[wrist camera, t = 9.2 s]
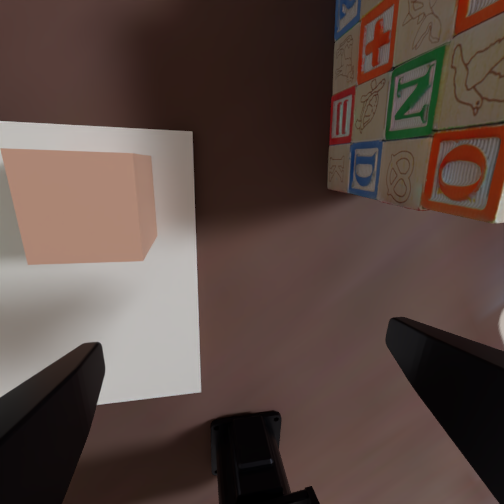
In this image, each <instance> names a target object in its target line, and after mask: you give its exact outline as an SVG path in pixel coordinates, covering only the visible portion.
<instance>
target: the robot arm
mask: <svg viewBox="0 0 504 504" xmlns="http://www.w3.org/2000/svg"><path fill="white" fill-rule="evenodd" d="M386 345H387V347H388V348H389V350H390V352H391V353H392V355H393V356H394V358H395V360H396V361H397V363H398V364H399V366H400V368H401V369H402V371H403V373H404V374H405V376H406V377H407V379H408V381H409V382H410V384H411V385H412V387H413V388H414V390H415V391H416V392H417V394H418V395H419V396H420V398H421V399H422V400H423V402H424V403H425V404H426V406H427V407H428V408H429V410H430V411H431V412H432V414H433V415H434V417H435V418H436V419H437V421H438V422H439V423H440V425H441V426H442V427H443V429H444V430H445V431H446V433H447V434H448V435H449V437H450V438H451V439H452V441H453V442H454V443H455V445H456V446H457V447H458V449H459V450H460V451H461V453H462V454H463V455H464V457H465V458H466V459H467V461H468V462H469V463H470V465H471V466H472V467H473V469H474V470H475V471H476V473H477V474H478V475H479V477H480V478H481V479H482V481H483V482H484V483H485V485H486V486H487V487H488V489H489V490H490V492H491V493H492V494H493V496H494V497H495V498H496V500H497V501H498V502H499V504H504V351H501V350H498V349H495V348H492V347H490V346H487V345H484V344H481V343H478V342H475V341H472V340H469V339H466V338H463V337H461V336H458V335H455V334H452V333H449V332H446V331H443V330H440V329H437V328H434V327H432V326H429V325H426V324H423V323H420V322H417V321H414V320H411V319H408V318H405V317H394V318H391V319H390V321H389V324H388V329H387V334H386ZM104 376H105V361H104V355H103V349H102V345H101V343H100V342H88V343H83V344H81V345H80V346H78V347H77V348H75V349H73V350H72V351H70V352H69V353H67V354H66V355H64V356H63V357H61V358H60V359H58V360H57V361H55V362H54V363H52V364H51V365H49V366H47V367H46V368H44V369H43V370H41V371H40V372H38V373H37V374H35V375H34V376H32V377H31V378H29V379H28V380H26V381H24V382H23V383H21V384H20V385H18V386H17V387H15V388H14V389H12V390H11V391H9V392H8V393H6V394H5V395H3V396H1V397H0V504H62V502H63V500H64V497H65V494H66V492H67V489H68V487H69V484H70V481H71V479H72V476H73V474H74V471H75V468H76V466H77V463H78V461H79V458H80V455H81V453H82V450H83V448H84V445H85V442H86V440H87V437H88V434H89V431H90V428H91V424H92V421H93V417H94V413H95V410H96V406H97V402H98V398H99V395H100V391H101V387H102V383H103V380H104ZM280 429H281V415H280V413H279V412H269V413H262V414H255V415H248V416H241V417H234V418H227V419H220V420H215V421H213V422H212V423H211V462H212V474H213V475H217V479H218V495H219V504H320V503H319V501H318V499H317V497H316V494H315V492H314V490H313V488H312V486H309V487H306V488H305V489H304V490H300V491H297V492H293V493H291V491H290V487H289V484H288V480H287V477H286V473H285V470H284V466H283V463H282V459H281V455H280V452H279V441H280Z"/></svg>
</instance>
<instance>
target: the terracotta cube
mask: <svg viewBox="0 0 504 504" xmlns="http://www.w3.org/2000/svg"><path fill="white" fill-rule="evenodd" d="M0 150H1V154H2V158H3V162H4V167H5V171H6V175H7V179H8V183H9V188H10V192H11V196H12V200H13V205H14V209H15V213H16V217H17V221H18V226H19V230H20V234H21V238H22V242H23V247H24V251H25V255H26V259H27V264H28V265H39V264H70V263H101V262H132V261H144V259H145V257H146V255H147V253H148V252H149V250H150V248H151V246H152V245H153V243H154V241H155V239H156V237H157V224H156V211H155V198H154V185H153V173H152V160H151V156H148V155H141V154H135V153H114V152H87V151H61V150H34V149H8V148H0Z"/></svg>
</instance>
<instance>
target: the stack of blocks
mask: <svg viewBox="0 0 504 504" xmlns="http://www.w3.org/2000/svg"><path fill="white" fill-rule="evenodd" d="M334 39H335V46H334V68H333V95H332V98H331V118H330V142H329V145H330V146H329V157H328V180H327V188H328V189H330V190H335V191H339V192H344V193H351V194H355V195H359V196H363V197H367V198H371V199H375V200H379V201H380V202H383V203H387V204H391V205H396V206H400V207H405V208H408V209H414V210H418V211H426V210H434V211H438V212H443V213H447V214H452V215H456V216H461V217H465V218H470V219H475V220H479V221H484V222H488V223H503V222H504V0H336V10H335V34H334Z"/></svg>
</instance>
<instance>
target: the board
mask: <svg viewBox="0 0 504 504" xmlns="http://www.w3.org/2000/svg"><path fill="white" fill-rule="evenodd" d="M0 148H8V149H34V150H61V151H87V152H114V153H135V154H141V155H148V156H151V160H152V173H153V185H154V198H155V211H156V224H157V237H156V239H155V241H154V243H153V245H152V246H151V248H150V250H149V252H148V253H147V255H146V257H145V259H144V261H132V262H101V263H70V264H39V265H28V264H27V259H26V255H25V251H24V247H23V242H22V238H21V234H20V230H19V226H18V221H17V217H16V213H15V209H14V205H13V200H12V196H11V192H10V188H9V183H8V179H7V175H6V171H5V167H4V162H3V158H2V154H1V150H0V397H1V396H3V395H5V394H6V393H8V392H9V391H11V390H12V389H14V388H15V387H17V386H18V385H20V384H21V383H23V382H24V381H26V380H28V379H29V378H31V377H32V376H34V375H35V374H37V373H38V372H40V371H41V370H43V369H44V368H46V367H47V366H49V365H51V364H52V363H54V362H55V361H57V360H58V359H60V358H61V357H63V356H64V355H66V354H67V353H69V352H70V351H72V350H73V349H75V348H77V347H78V346H80V345H81V344H83V343H88V342H100V343H101V345H102V349H103V355H104V361H105V376H104V380H103V383H102V387H101V391H100V395H99V398H98V402H97V405H100V404H108V403H116V402H124V401H133V400H141V399H149V398H157V397H165V396H174V395H182V394H190V393H198V392H201V372H200V342H199V311H198V281H197V251H196V221H195V191H194V161H193V132H192V131H174V130H155V129H137V128H118V127H100V126H81V125H62V124H44V123H25V122H7V121H0Z"/></svg>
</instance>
